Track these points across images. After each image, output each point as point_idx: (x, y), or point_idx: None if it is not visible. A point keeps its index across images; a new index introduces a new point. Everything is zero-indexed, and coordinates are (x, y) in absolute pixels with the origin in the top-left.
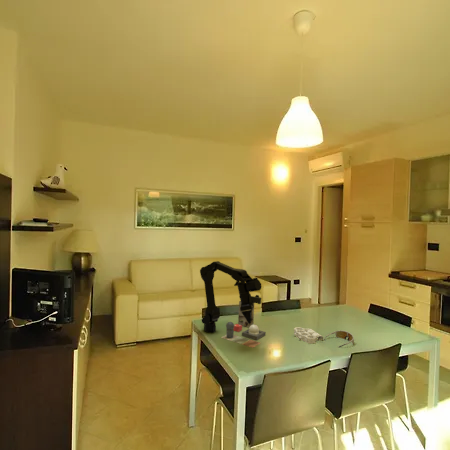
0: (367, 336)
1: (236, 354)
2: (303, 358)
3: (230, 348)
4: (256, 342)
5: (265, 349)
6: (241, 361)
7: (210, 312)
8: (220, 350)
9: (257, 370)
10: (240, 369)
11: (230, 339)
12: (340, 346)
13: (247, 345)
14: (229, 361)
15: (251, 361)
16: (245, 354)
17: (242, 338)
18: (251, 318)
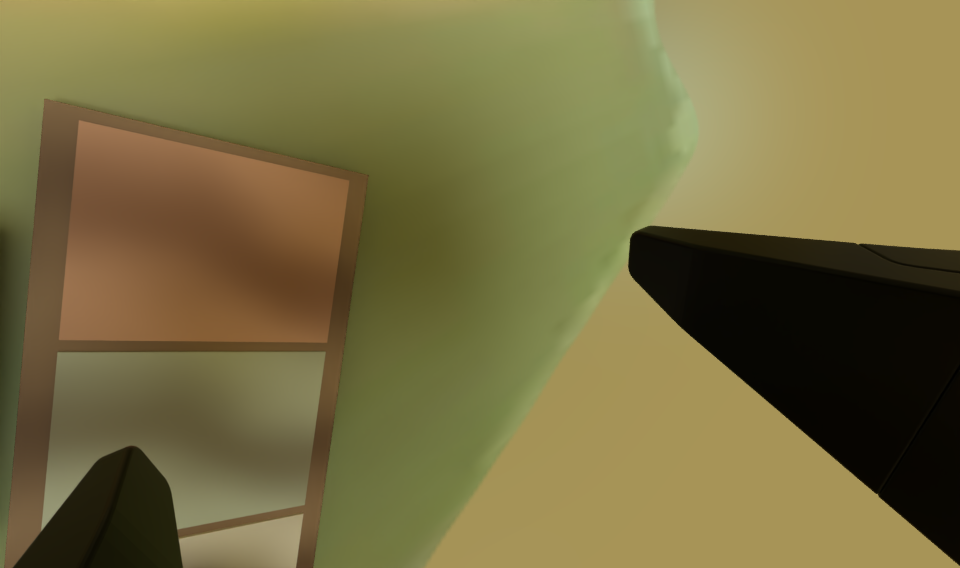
0: None
1: (510, 282)
2: None
3: (431, 397)
4: (119, 197)
5: (228, 18)
6: (587, 191)
7: None
8: (503, 432)
9: (646, 36)
10: (664, 154)
11: (266, 542)
12: None
13: (324, 269)
14: (612, 268)
15: (562, 115)
16: (478, 211)
17: None
18: (113, 503)
